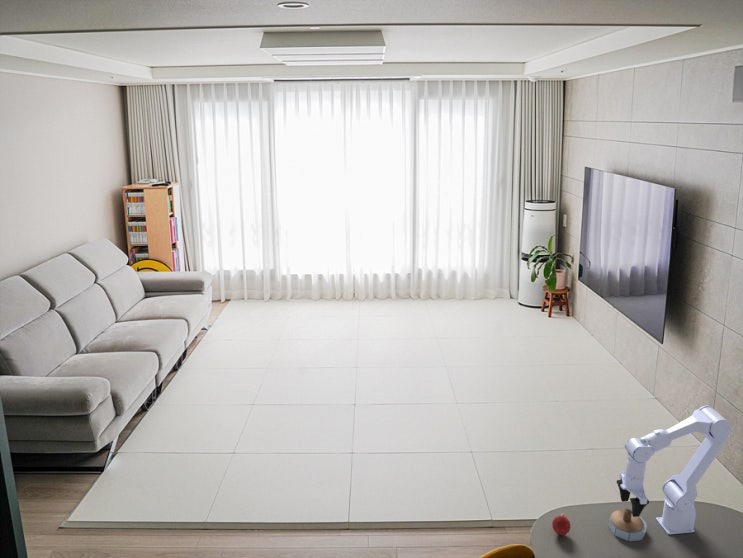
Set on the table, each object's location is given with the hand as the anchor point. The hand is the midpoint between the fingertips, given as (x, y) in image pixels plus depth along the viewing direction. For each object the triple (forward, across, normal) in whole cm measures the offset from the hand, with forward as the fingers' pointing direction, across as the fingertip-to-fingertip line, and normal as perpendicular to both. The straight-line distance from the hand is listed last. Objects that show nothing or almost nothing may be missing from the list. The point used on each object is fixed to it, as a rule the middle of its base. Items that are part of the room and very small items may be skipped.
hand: (630, 508), depth 215 cm
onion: (+9, 0, -23) cm, 25 cm away
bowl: (+8, 0, 0) cm, 9 cm away
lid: (+6, 0, -1) cm, 6 cm away
